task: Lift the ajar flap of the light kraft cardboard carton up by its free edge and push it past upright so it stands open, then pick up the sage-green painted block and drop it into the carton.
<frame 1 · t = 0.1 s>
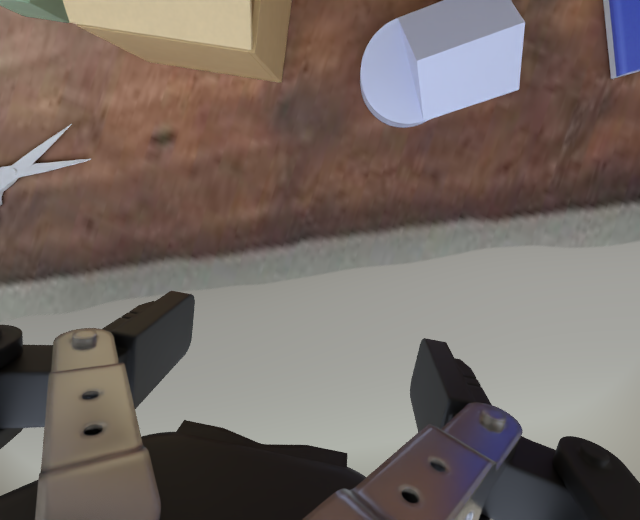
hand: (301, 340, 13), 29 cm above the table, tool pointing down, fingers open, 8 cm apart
wedge on round base: (426, 72, 38), on the table
scissors: (15, 175, 44), on the table
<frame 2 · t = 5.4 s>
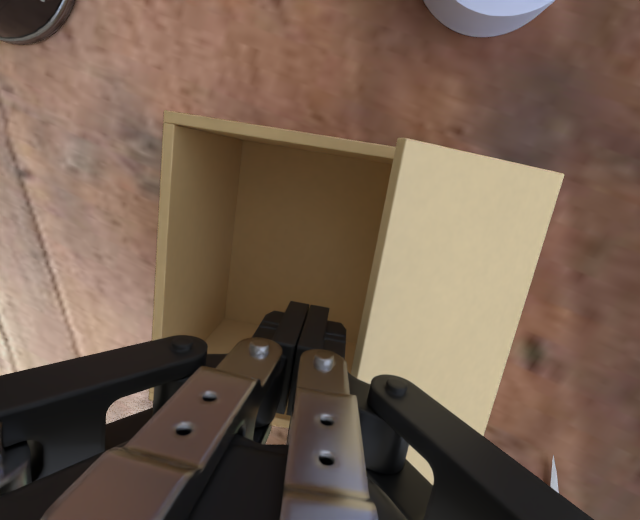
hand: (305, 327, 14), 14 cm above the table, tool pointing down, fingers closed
carton: (337, 251, 27), on the table
flap: (443, 349, 14), point 13 cm above the table, hinge at 34.1°, touching gripper
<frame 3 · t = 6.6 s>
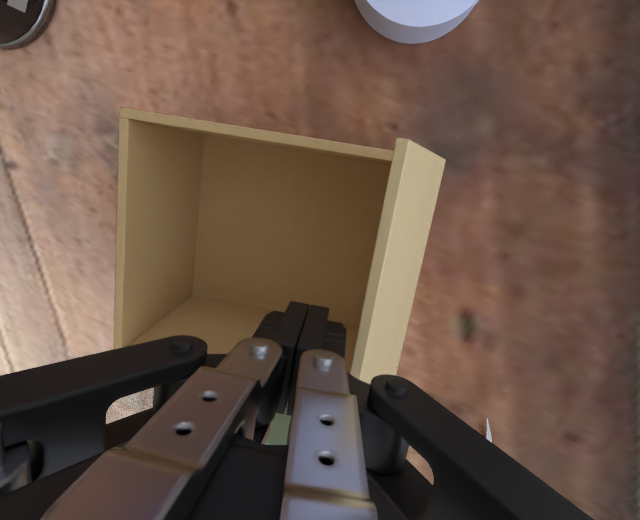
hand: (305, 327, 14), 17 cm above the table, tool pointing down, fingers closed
carton: (291, 234, 31), on the table
block: (296, 432, 35), on the table
flap: (389, 322, 16), point 15 cm above the table, hinge at 70.2°, touching gripper
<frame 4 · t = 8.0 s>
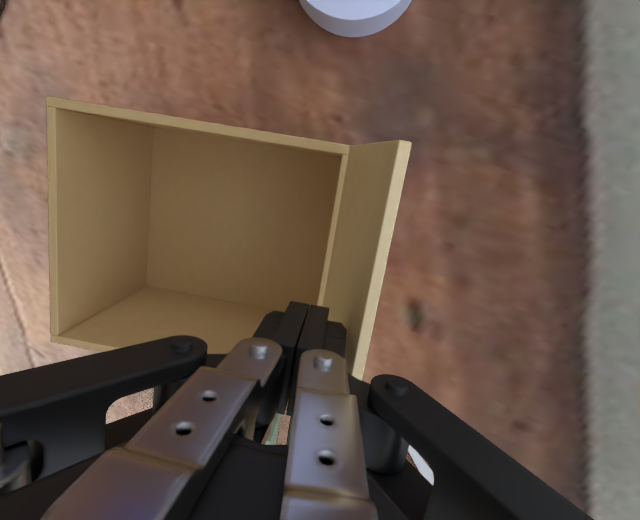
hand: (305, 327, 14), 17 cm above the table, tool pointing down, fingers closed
carton: (241, 225, 31), on the table
flap: (341, 313, 16), point 15 cm above the table, hinge at 101.1°, touching gripper
scissors: (447, 498, 36), on the table
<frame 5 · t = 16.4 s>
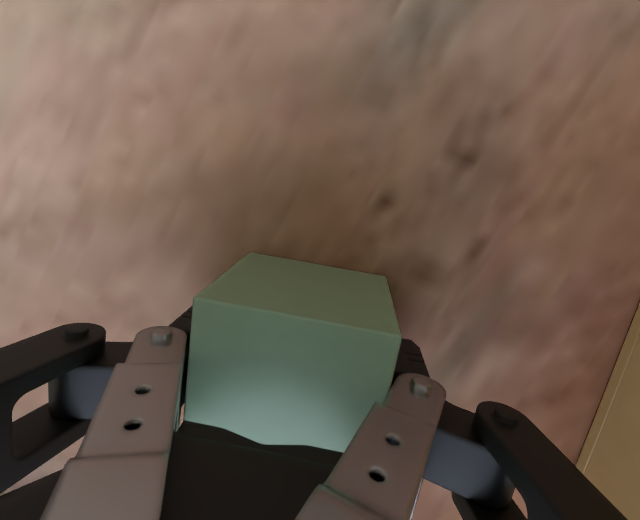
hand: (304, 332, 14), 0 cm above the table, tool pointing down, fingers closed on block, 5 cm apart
block: (306, 327, 14), on the table, touching gripper
when the fingers open (10 cm above the table, at t = 23.0 s): block drops 9 cm, resting on carton.
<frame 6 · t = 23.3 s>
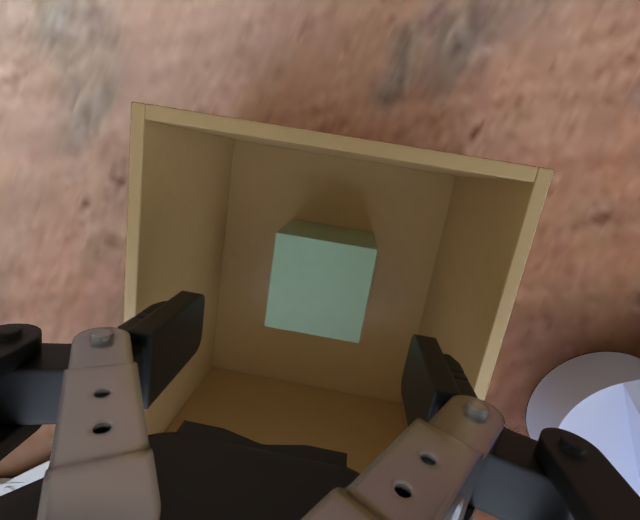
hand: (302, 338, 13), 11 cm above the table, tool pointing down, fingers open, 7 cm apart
wedge on round base: (629, 406, 25), on the table
carton: (323, 277, 25), on the table
block: (326, 264, 24), resting on carton
scissors: (12, 486, 31), on the table
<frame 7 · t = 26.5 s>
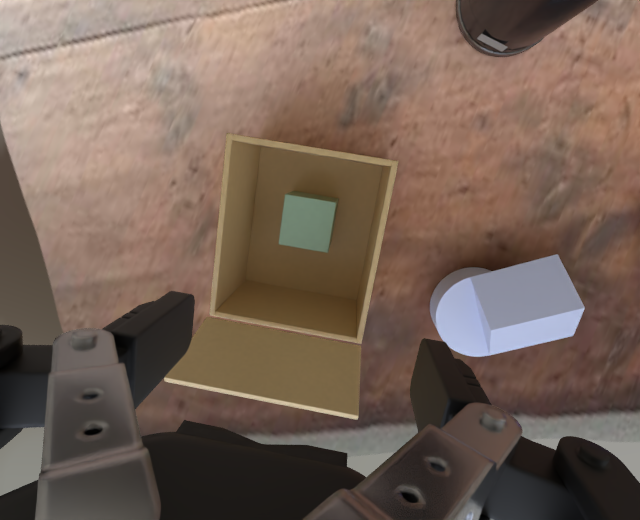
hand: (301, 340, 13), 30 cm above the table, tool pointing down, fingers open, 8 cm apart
wedge on round base: (488, 300, 43), on the table
carton: (311, 225, 43), on the table
block: (312, 217, 42), resting on carton
flap: (272, 361, 30), point 15 cm above the table, hinge at 101.1°
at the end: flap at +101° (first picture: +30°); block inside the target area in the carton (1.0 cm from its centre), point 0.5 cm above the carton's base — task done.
